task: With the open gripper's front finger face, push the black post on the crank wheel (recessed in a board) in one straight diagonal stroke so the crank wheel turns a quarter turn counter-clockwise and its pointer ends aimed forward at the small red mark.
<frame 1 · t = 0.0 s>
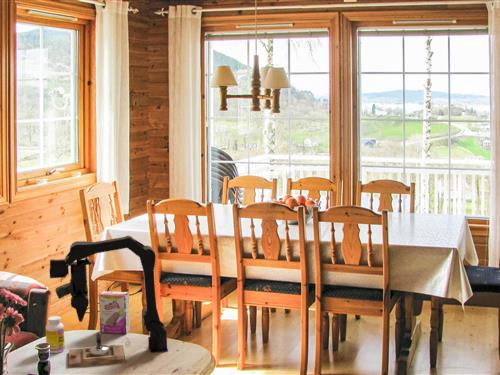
hand: (80, 317, 285), 15 cm above the table, fingers open, 9 cm apart
board: (97, 357, 286), on the table
candy bar box: (115, 332, 314), on the table
crank wheel: (99, 344, 286), point 5 cm above the table, hinge at 0.0°
supplement bottle: (55, 351, 293), on the table
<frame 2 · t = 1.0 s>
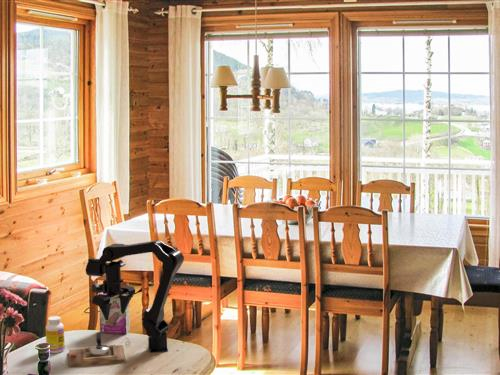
hand: (114, 316, 298), 11 cm above the table, fingers open, 9 cm apart
nothing on the table moved.
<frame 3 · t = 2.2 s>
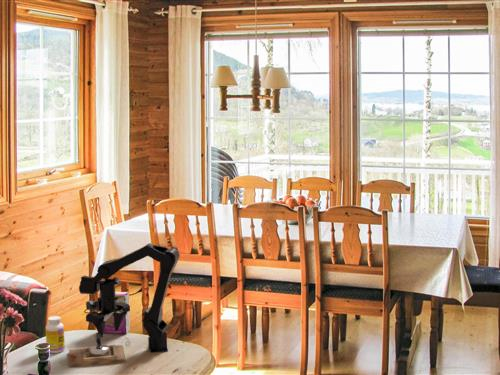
hand: (109, 334, 296), 5 cm above the table, fingers open, 8 cm apart
crank wheel: (99, 344, 286), point 5 cm above the table, hinge at 0.8°, touching gripper
everything else where it was.
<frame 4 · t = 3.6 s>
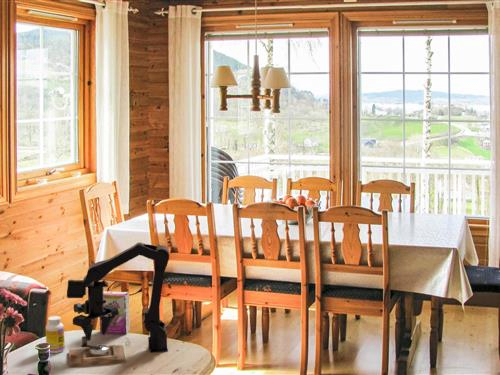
hand: (96, 337, 291), 5 cm above the table, fingers open, 8 cm apart
crank wheel: (95, 345, 285), point 5 cm above the table, hinge at 60.7°, touching gripper
everything else where it was.
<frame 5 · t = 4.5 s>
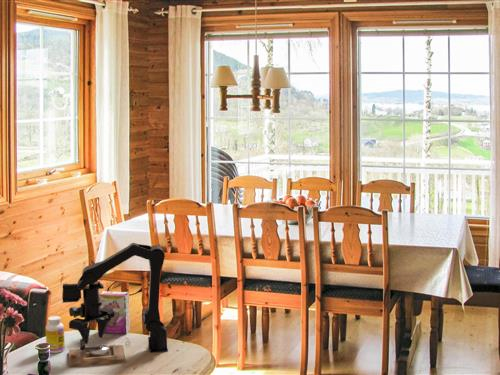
hand: (93, 340, 288), 5 cm above the table, fingers open, 7 cm apart
crank wheel: (94, 346, 284), point 5 cm above the table, hinge at 90.9°, touching gripper
everything else where it was.
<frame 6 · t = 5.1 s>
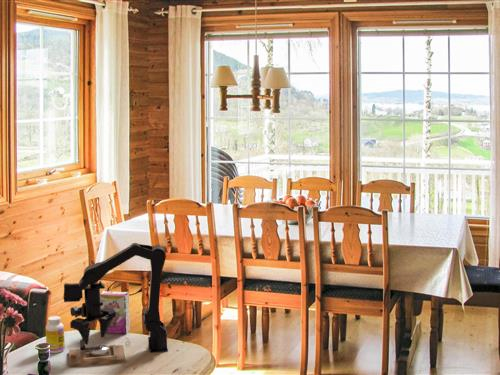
hand: (94, 340, 289), 5 cm above the table, fingers open, 8 cm apart
crank wheel: (94, 346, 284), point 5 cm above the table, hinge at 93.4°, touching gripper
everything else where it was.
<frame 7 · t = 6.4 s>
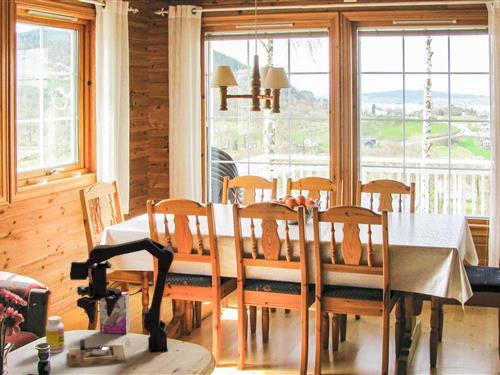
hand: (100, 319, 291), 12 cm above the table, fingers open, 9 cm apart
crank wheel: (94, 346, 284), point 5 cm above the table, hinge at 93.5°
everything else where it was.
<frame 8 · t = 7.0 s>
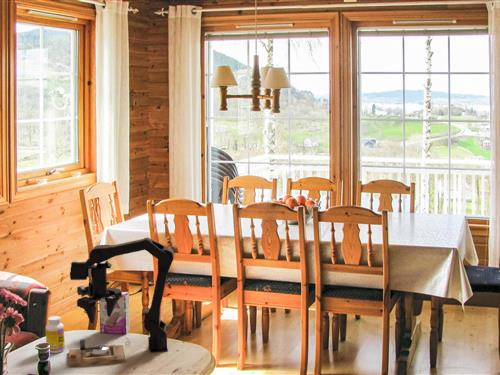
hand: (100, 319, 291), 12 cm above the table, fingers open, 9 cm apart
nothing on the table moved.
at the end: crank wheel at +94° (first picture: +0°) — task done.
